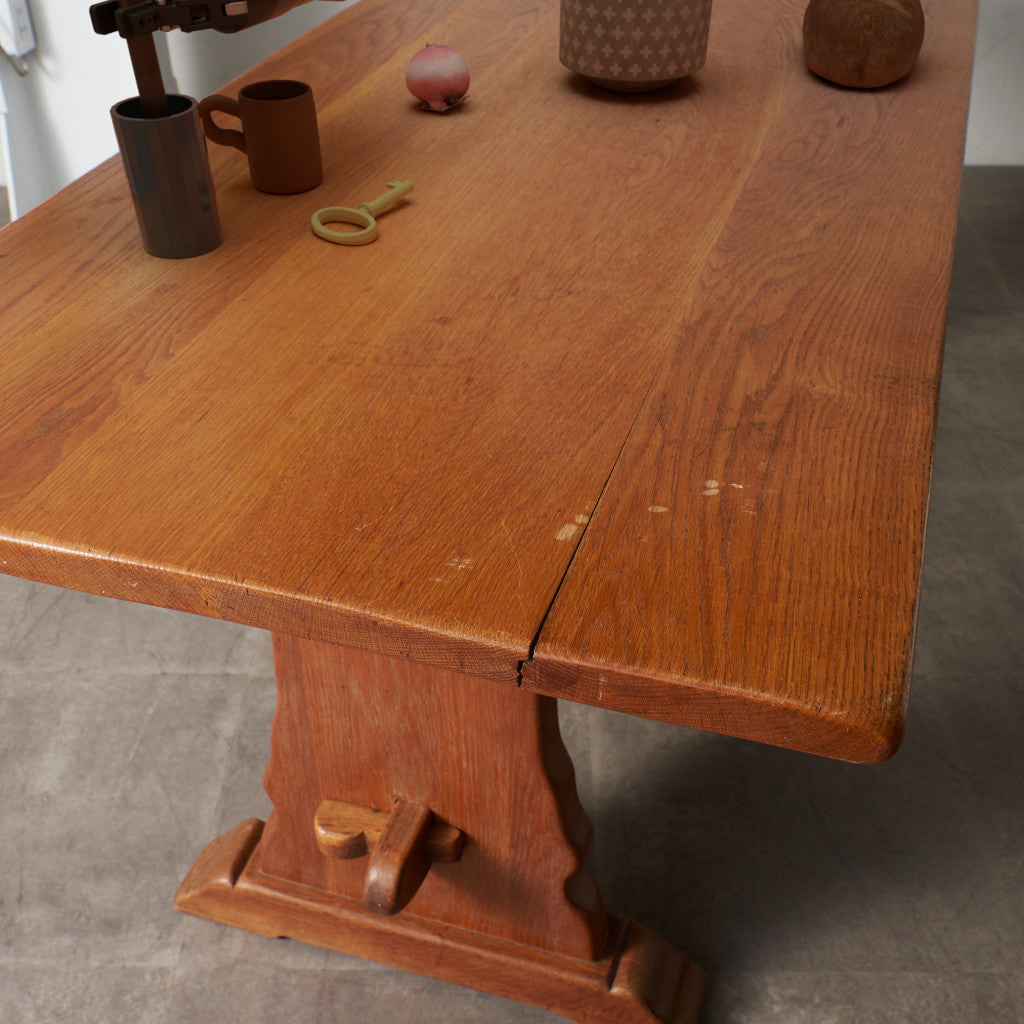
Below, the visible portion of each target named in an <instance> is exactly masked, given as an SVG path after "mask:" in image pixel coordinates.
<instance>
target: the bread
mask: <svg viewBox="0 0 1024 1024" xmlns="http://www.w3.org/2000/svg"><path fill="white" fill-rule="evenodd" d="M802 21H803V22H802V26H801V32H802V34H801V35H802V43H803V50H804V56H805V57H804V58H805V62H806V65H807V67H808V68H809V69H810V70H811V72H813V73H815V74H816V75H818V76H820V77H822V78H824V79H826V80H828V81H830V82H833V83H835V84H837V85H840V86H846V87H851V88H863V89H868V88H869V89H870V88H881V87H884V86H887V85H889V84H891V83H894V82H896V81H898V80H900V79H902V78H903V77H906V75H908V74H909V72H911V70H912V68H913V67H914V66H915V65H916V62H917V61H918V58H919V56H920V53H921V50H922V46H923V44H924V39H925V27H926V21H925V15H924V9H923V5H922V2H921V0H809V3H808V4H807V6H806V8H805V10H804V15H803V20H802Z"/></svg>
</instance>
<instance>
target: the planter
mask: <svg viewBox="0 0 1024 1024" xmlns="http://www.w3.org/2000/svg"><path fill="white" fill-rule="evenodd" d="M713 2H714V1H713V0H560V5H559V6H560V7H559V38H558V39H559V40H558V44H559V45H558V60H559V63H560V64H561V65H562V66H563V67H564V68H566V69H568V70H570V71H573V72H575V73H577V74H580V75H581V76H583V78H585V79H587V80H588V81H590V82H591V83H593V84H595V85H597V86H599V87H602V88H604V89H607V90H610V91H613V92H614V91H615V92H620V93H644V92H650V91H651V92H652V91H655V90H657V89H661V88H664V87H666V86H669V85H670V84H672V83H674V82H676V81H677V80H679V79H680V78H683V77H686V76H690V75H692V74H696V73H697V72H699V71H700V70H702V69H703V68H704V67H705V66H706V62H707V54H708V46H709V37H710V27H711V19H712V11H713V10H712V9H713Z"/></svg>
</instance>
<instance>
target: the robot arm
mask: <svg viewBox="0 0 1024 1024" xmlns="http://www.w3.org/2000/svg"><path fill="white" fill-rule="evenodd" d="M313 1H315V0H145V1H142V2H139V3H136V4H132V5H129V6H126V7H123V8H119V7H118V3H117V0H104V1H101V2H96V3H94V4H91V5H90V6H89V7H88V13H89V14H88V15H89V17H90V22H91V25H92V29H93V32H94V33H95V34H96V35H101V36H108V35H110V34H113V33H116V32H117V33H118V36H119V37H120V38H121V39H122V40H126V39H128V40H131V39H134V38H137V37H140V36H143V35H146V34H149V33H154V32H158V31H160V32H164V33H170V32H172V31H174V30H177V29H178V30H180V32H182V33H186V34H191V33H193V32H200V31H205V30H211V29H212V30H213V31H215V32H218V33H221V34H226V35H231V34H232V35H233V34H236V33H239V32H241V31H244V30H246V29H247V30H248V29H249V28H252V27H255V26H257V25H261V24H264V23H265V22H268V21H271V20H274V19H276V18H279V17H281V16H284V15H286V14H287V13H288V12H290V11H292V10H293V9H294V8H298V7H300V6H303V5H306V4H308V3H311V2H313ZM318 1H319V2H334V3H335V2H337V3H340V2H345V1H347V0H318Z"/></svg>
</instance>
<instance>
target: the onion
mask: <svg viewBox="0 0 1024 1024" xmlns="http://www.w3.org/2000/svg"><path fill="white" fill-rule="evenodd" d="M405 84H406V85H405V86H406V89H407V91H408V92H409V93H410V94H411V95H412V96H413V97H415V98H416V99H417V100H419V101H421V102H423V104H422V105H421V107H420V109H422V110H426V111H435V112H444V111H446V110H447V109H449V108H451V107H455V106H457V105H459V104H461V103H462V102H464V101H466V100H467V98H469V97H471V95H470V94H469V95H467V93H468V91H469V88H470V85H471V76H470V71H469V68H468V64H467V62H466V60H465V59H464V57H463V56H462V55H461V54H460V53H459V52H458V51H457V50H456V49H454V48H452V47H451V46H449V45H447V44H444V43H442V42H438V43H432V42H426V43H425V47H423V48H422V49H420V50H419V51H418V52H416V53H415V54H414V56H413V57H412V58H411V60H410V61H409V63H408V66H407V68H406V72H405ZM459 100H460V101H459ZM450 101H453V102H455V104H453V105H449V104H448V103H450ZM457 101H459V102H457ZM456 102H457V103H456Z"/></svg>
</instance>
